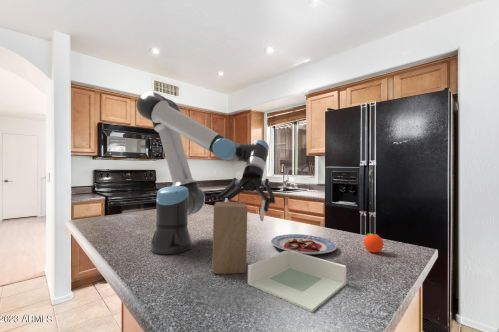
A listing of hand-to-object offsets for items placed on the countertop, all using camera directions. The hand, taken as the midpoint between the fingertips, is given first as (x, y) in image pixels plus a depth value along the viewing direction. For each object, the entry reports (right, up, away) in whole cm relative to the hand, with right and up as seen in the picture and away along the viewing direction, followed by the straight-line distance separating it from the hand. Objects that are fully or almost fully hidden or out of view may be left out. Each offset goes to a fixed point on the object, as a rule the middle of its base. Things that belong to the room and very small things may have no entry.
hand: (241, 217), depth 83 cm
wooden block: (-4, -15, -4) cm, 16 cm away
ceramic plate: (+24, -16, +18) cm, 35 cm away
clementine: (+50, -17, +14) cm, 55 cm away
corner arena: (+16, -15, -16) cm, 27 cm away
